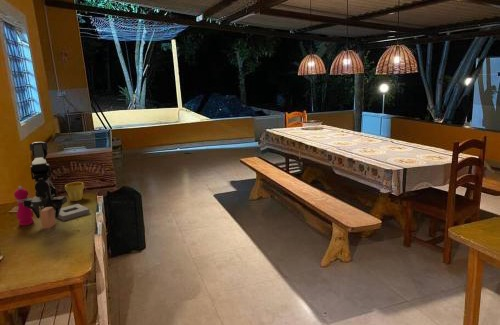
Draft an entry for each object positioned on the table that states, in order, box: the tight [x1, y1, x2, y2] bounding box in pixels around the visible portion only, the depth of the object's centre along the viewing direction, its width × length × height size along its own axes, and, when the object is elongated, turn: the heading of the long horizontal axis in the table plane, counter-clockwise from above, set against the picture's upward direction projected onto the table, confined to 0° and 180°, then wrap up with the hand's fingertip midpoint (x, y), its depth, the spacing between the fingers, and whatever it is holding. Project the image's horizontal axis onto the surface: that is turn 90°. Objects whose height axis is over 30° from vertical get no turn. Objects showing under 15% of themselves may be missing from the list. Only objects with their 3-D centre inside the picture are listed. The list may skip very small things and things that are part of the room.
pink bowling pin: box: [13, 185, 34, 226], centre depth 183 cm, size 7×7×20 cm
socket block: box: [54, 203, 90, 222], centre depth 196 cm, size 14×14×3 cm
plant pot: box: [64, 181, 85, 202], centre depth 221 cm, size 10×10×10 cm
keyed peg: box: [39, 207, 57, 229], centre depth 180 cm, size 6×4×9 cm, turn 3°
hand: (48, 217), depth 180 cm, fingers open, 9 cm apart
